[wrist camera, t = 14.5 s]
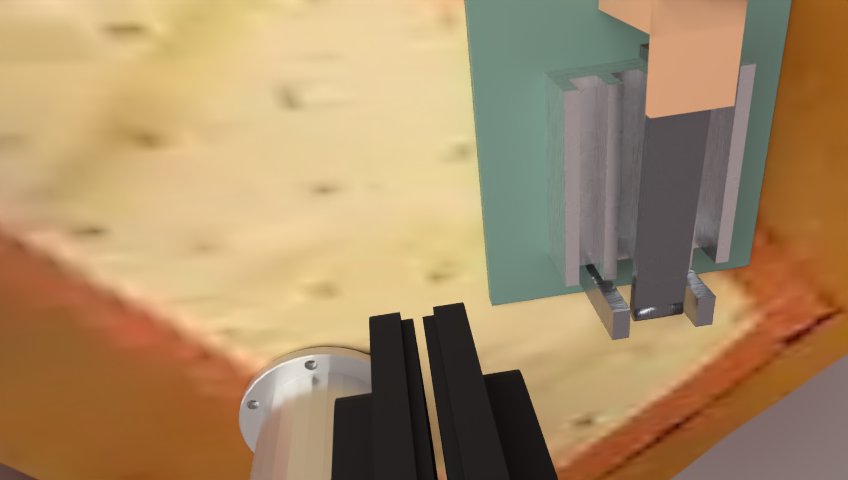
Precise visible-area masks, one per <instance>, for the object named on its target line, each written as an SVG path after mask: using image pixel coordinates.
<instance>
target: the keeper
mask: <svg viewBox="0 0 848 480" xmlns="http://www.w3.org/2000/svg"><path fill="white" fill-rule="evenodd" d="M747 2H748V0H599V7H598V9H599V10H601V11H603V12H605V13H607V14H609V15H611V16H613V17H615V18H617V19H619V20H621V21H623V22H625V23H627V24H629V25H631V26H633V27H635V28H637V29H639V30H641V31H643V32H645V33H647V34H649V35H650V40H649V58H648V75H647V93H646V111H645V115H647V116H648V117H649V118H656V117H663V116H670V115H676V114H683V113H690V112H696V111H703V110H710V109H716V108H723V107H730V106H734V103H735V96H736V88H737V80H738V72H739V64H740V57H741V49H742V41H743V33H744V25H745V17H746V10H747Z"/></svg>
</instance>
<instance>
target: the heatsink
mask: <svg viewBox="0 0 848 480" xmlns="http://www.w3.org/2000/svg"><path fill="white" fill-rule="evenodd" d="M755 69H756V63H753V62H751V61H749V60H746V59H744V58H742V57H740V64H739V72H738V80H737V88H736V96H735V103H734V106H730V107H723V108H716V109H711V116H710V123H709V130H708V137H707V144H706V151H705V158H704V165H703V172H702V179H701V186H700V193H699V200H698V207H697V214H696V221H695V228H694V235H693V242H692V249H691V257H690V264H689V271H688V278H687V285H686V292H685V299H684V306H683V307H684V310H683V311H684V313H685V314H686V315H687V317H688V318H689V319H690V320H691V322H692V323H693V324H694V326H695V327H698V326H704V325H711V324H712V321H713V313H714V306H715V298H716V296H715V295H714V294H713V293H712V292H711V291H710V290H709V288H708V287H707V286H706V285H705V284H704V283H703V282H702V281H701V279H700V278H699V277H698V276H697V275H696V274H695V273H694V271H693V270H692V269H691V268H690V267H691V265H692V255H693V248H698V247H700V248H701V249H702V250H703V251H704V252H705V253H706V254H707V255H708V256H709V257H710V258H711V260H712V261H713V262H714V263H715V264H716V263H722V262H728V260H729V253H730V246H731V239H732V232H733V225H734V218H735V211H736V204H737V197H738V189H739V182H740V175H741V168H742V161H743V154H744V147H745V140H746V133H747V126H748V119H749V112H750V105H751V97H752V90H753V83H754V76H755ZM647 75H648V63H647V62H646V61H644V60H643V59H642V58H637V59H631V60H624V61H617V62H610V63H603V64H597V65H590V66H583V67H576V68H569V69H563V70H556V71H549V72H544V99H545V137H546V176H547V215H548V253H549V255H550V257H551V259H552V261H553V263H554V265H555V267H556V268H557V270H558V272H559V274H560V276H561V278H562V280H563V282H564V284H565V285H566V287H568V286H575V285H579V282H580V284H581V286H582V288H583V289H584V291H585V293H586V295H587V296H588V298H589V300H590V302H591V303H592V305H593V307H594V309H595V310H596V312H597V314H598V316H599V317H600V319H601V321H602V323H603V324H604V326H605V328H606V330H607V331H608V333H609V335H610V337H611V338H612V340H616V339H622V338H628V337H629V329H630V308H629V307H628V305H627V304H626V302H625V301H624V299H623V298H622V296H621V295H620V293H619V292H618V290H617V289H616V287H615V286H614V284H613V282H612V281H611V280H613V279H617V260H621V259H627V258H629V260H630V261H631V262H632V264H633V263H634V251H635V239H636V227H637V215H638V203H639V191H640V178H641V166H642V154H643V142H644V130H645V118H646V115H645V111H646V93H647Z"/></svg>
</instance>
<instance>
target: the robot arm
mask: <svg viewBox="0 0 848 480" xmlns="http://www.w3.org/2000/svg"><path fill="white" fill-rule="evenodd" d="M433 311H434V315H432V316H425V317H423V323H424V330H425V337H426V343H427V350H428V357H429V363H430V370H431V376H432V383H433V390H434V396H435V403H436V410H437V416H438V423H439V429H440V436H441V442H442V449H443V455H444V462H445V468H446V474H447V480H558V478H557V475H556V472H555V469H554V466H553V463H552V460H551V457H550V454H549V452H548V449H547V446H546V443H545V440H544V437H543V434H542V431H541V428H540V425H539V422H538V420H537V417H536V414H535V411H534V408H533V405H532V402H531V399H530V396H529V393H528V390H527V388H526V385H525V382H524V379H523V376H522V374H521V372H520V370H519V369H518V370H511V371H505V372H499V373H492V374H486V375H482V371H481V367H480V363H479V360H478V356H477V352H476V348H475V344H474V341H473V337H472V333H471V329H470V325H469V321H468V318H467V314H466V310H465V306H464V303H463V302H462V303H456V304H449V305H443V306H436V307H433ZM369 329H370V355H367V354H364V353H362V352H359V351H356V350H351V349H345V348H340V347H317V348H308V349H303V350H299V351H296V352H292V353H289V354H286V355H284V356H282V357H280V358H278V359H276V360H274V361H272V362H271V363H269V364H268V365H267V366H265V367H264V368H262V369H261V370H260V371H259V372H258V373H257V374H256V375H255V376H254V377H253V378H252V380H251V381H250V383H249V385H248V386H247V388H246V390H245V392H244V395H243V399H242V402H241V407H240V413H239V423H240V430H241V433H242V435H243V438H244V440H245V442H246V443H247V445H248V446H249V448H250V449H251V451H252V452H253V453H254V458H253V464H252V469H251V475H250V480H438V477H437V470H436V463H435V455H434V448H433V441H432V435H431V428H430V422H429V416H428V409H427V403H426V397H425V391H424V385H423V378H422V372H421V366H420V360H419V353H418V347H417V341H416V335H415V329H414V322H413V319H406V320H401V316H400V312H398V313H391V314H385V315H378V316H372V317H370V318H369Z"/></svg>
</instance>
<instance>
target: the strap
mask: <svg viewBox="0 0 848 480" xmlns="http://www.w3.org/2000/svg"><path fill="white" fill-rule="evenodd" d="M639 57H640V58H642V59H643V60H644V61H646V62H647V63H648V58H649V43H646V44H640V51H639ZM710 116H711V109H710V110H703V111H696V112H690V113H683V114H676V115H670V116H663V117H656V118H649V117H648V116H647V115H646V118H645V130H644V142H643V154H642V166H641V178H640V191H639V203H638V215H637V227H636V239H635V251H634V263H633V276H632V288H631V300H630V314H631V317H632V319H633V320H634V321H641V320H647V319H654V318H660V317H666V316H673V315H679V314H682V313H683V310H684V307H683V306H684V299H685V292H686V285H687V278H688V271H689V264H690V257H691V249H692V242H693V235H694V228H695V221H696V214H697V207H698V200H699V193H700V186H701V179H702V172H703V165H704V158H705V151H706V144H707V137H708V130H709V123H710Z"/></svg>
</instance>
